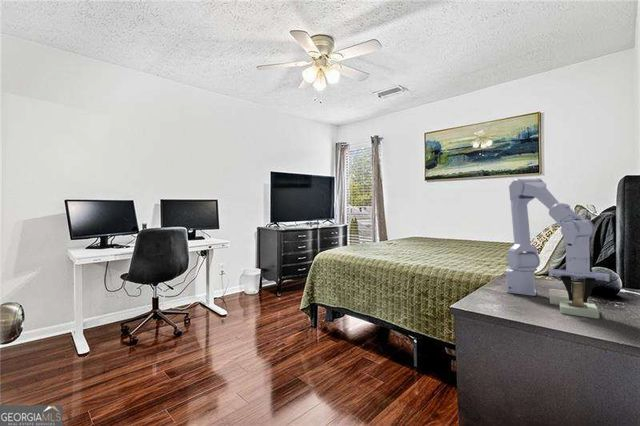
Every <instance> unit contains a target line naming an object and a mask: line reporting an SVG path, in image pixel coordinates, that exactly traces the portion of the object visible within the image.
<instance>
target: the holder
mask: <svg viewBox="0 0 640 426" xmlns="http://www.w3.org/2000/svg"><path fill="white" fill-rule="evenodd" d="M558 306H559V311H560V314H565V315H571V316H579V317H586V318H593V319H597V320H598V319H600V311H599V309H598V307H597V306H596V304H595V303H589V302H588V303H584V308H580V307H572V301H566V300H559V305H558Z"/></svg>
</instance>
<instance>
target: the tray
mask: <svg viewBox="0 0 640 426" xmlns="http://www.w3.org/2000/svg"><path fill="white" fill-rule="evenodd" d="M548 289H549V290H548V297H549V304H550V305H556V306H559V300H566V301H569V296H568V292H567V290H563V289H554V288H548ZM571 292H572V290H571ZM584 303H585V302H584ZM587 303H589V300H588V301H587Z"/></svg>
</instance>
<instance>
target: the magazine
mask: <svg viewBox="0 0 640 426" xmlns="http://www.w3.org/2000/svg"><path fill="white" fill-rule="evenodd" d="M593 267H594V262H593V256H592V253H590V272H593ZM582 277H586V276H582ZM579 283H583V284H584V279H583V278H579ZM590 295H592V291H591V292H590V294H589V296H590Z"/></svg>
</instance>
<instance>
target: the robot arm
mask: <svg viewBox="0 0 640 426" xmlns="http://www.w3.org/2000/svg"><path fill="white" fill-rule="evenodd" d="M508 190H509V198H510V199H509V201H510V208H511V209H510V212H511V223H512V233H513V243H514V244H513V245H512V246H511V247H510V248H508V249H507V257H506V262H507V265H508V267H509V268H506V271H505V272H506V273H505V276H506V277H505V289H506V290H505V292H506V293H508V294H509V293H510V294H514V295H515V294H517V295H523V296H532V297H533V296H534V297H536V296H537V290H536V287H535V285H536V283H535V279H536V278H535V271H537V268H538V267H540V263H541V259H540V255H539V253H538V249H537V248H536V247H535V246H533V245H532V244H531V233H530V223H529V222H530V221H529V210H528V204H529V203H530V202H531V201H533V200H535V199H537V200H538V201H539V203H541V204H543V205H544V206H545V207H546V208H547V209H548V210H549V211H548V215H549V217H551V218H552V219H553V220H554V222H556V223H557V224H558V226H560V227H561V228H560V233H561V235H562V237H563V242H564V243H565V269H555V268H554V269H553V268H549V269H548V276H549V277H560V278H561V281H562V283H563V284H564V285H563V286H564V287H565V288H566V291H567V292H568V296H569V301H572V292H571V291H572V282H573V281H572V278H573V279H574V278H575V279H580V278H583V279H584V302H585V303H587V301H588V302H589V297H590V295H591V294H590V292H591V293H592V290H593V289H594V287H595V285H596V284H597V281H598V280H599V281H604V282H610V274H609V273H603V272H596V271H592V272H590V254H591V253H590V238H591V237H592V236H594V233H595V229H596V228H595V225H594V224H593V222H592V221H591V220H590V219H586V218H585V219H584V218H583V217H581V216H580V215H578V214H577V213H576V212H575V211H574V210H573V209H572V208H571V206H570V205H569V204H568V203H565V202H564V203H560V202H559V201H558V200H557V198H556V197H555V196H554V195H553V194H552V193H551V192H550V190H549V189H548V188H547V183H546V182H544V181H543V180H542V179H541V178H515V179H513V180H512V181H511V182H510V184H509V185H508ZM582 276H586V277H582ZM596 280H597V281H596ZM589 294H590V295H589Z"/></svg>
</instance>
